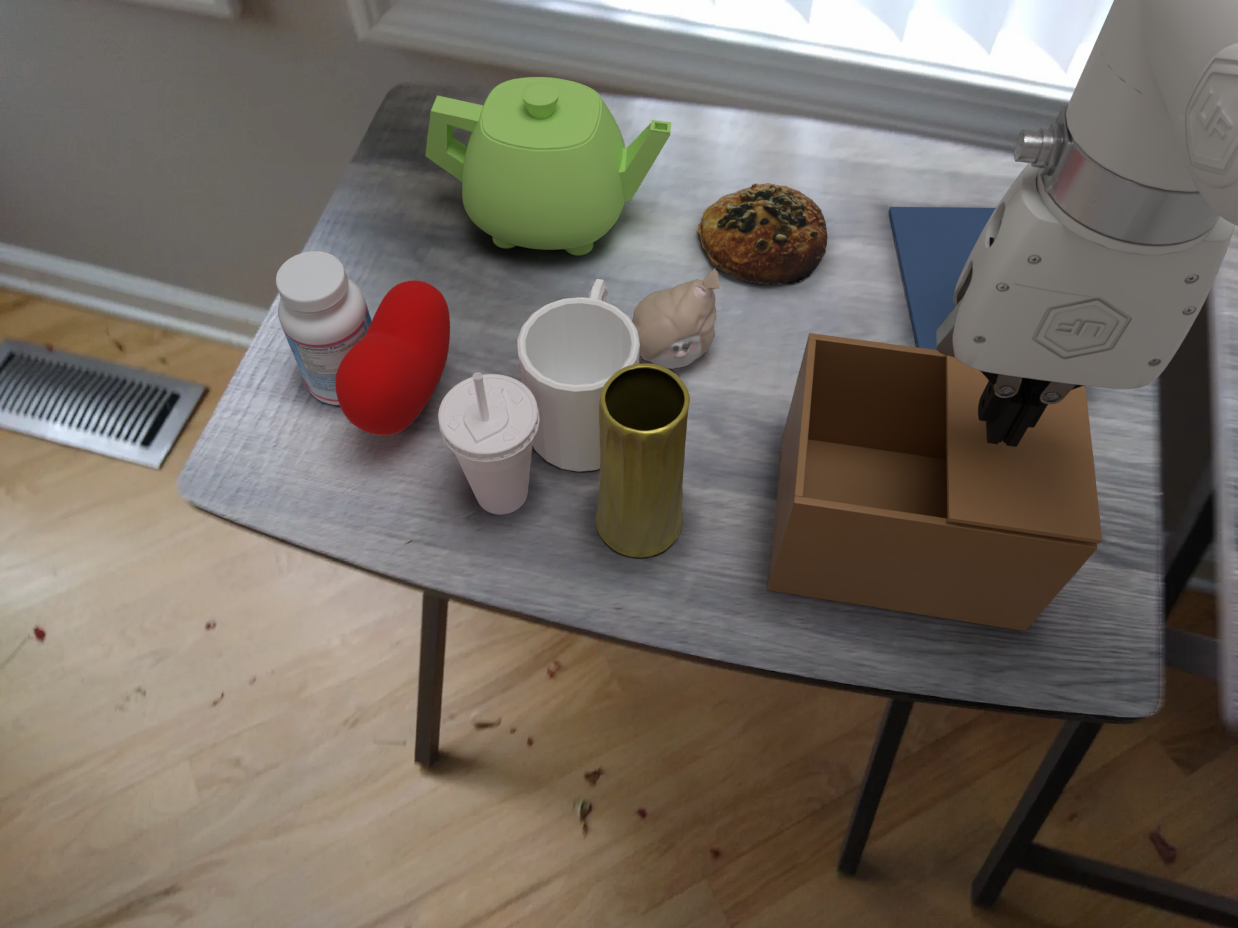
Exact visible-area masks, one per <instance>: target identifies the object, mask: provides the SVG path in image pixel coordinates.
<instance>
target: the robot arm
mask: <svg viewBox="0 0 1238 928" xmlns="http://www.w3.org/2000/svg"><path fill="white" fill-rule="evenodd" d="M1015 142H1016V143H1015V147H1014V151H1013V152H1014V153H1013V160H1014V162H1016V163H1025V164H1026V163H1027V164H1026V166H1024V168H1023V169H1022V170H1021V171H1020V173H1019V174H1018V176H1016V178H1015V180H1014V181H1013V182H1012V184H1011V185H1010V187H1009V188H1008V189H1007V190H1006V192H1005V194H1004V195H1003V196H1002V197H1001V199H1000V201H999V202H998V204H997V205H996V207H995V208H996V209H995V210H994V212H993V214H992V215H991V217H990V219H989V220H988V222H987V224H986V225H985V227H984V229H983V231H982V233H981V234H980V236H979V238H978V240H977V242H976V244H975V246H974V248H973V250H972V252H971V254H970V256H969V258H968V260H967V262H966V264H965V266H964V268H963V270H962V273H961V275H960V277H959V280H958V282H957V285H956V288H955V291H954V296H953V303H954V305H955V308H954V309H953V310H952V311H951V313H950V314H949V315H948V316H947V317H946V319H945V320H944V321H943V322H942V324H941V325H940V326H939V327H938V329H937V331H936V339H937V351H938V352H940V353H942V354H945V355H948V356H951V357H955V358H956V359H957V360H958V361H959V362H961V363H962V364H964V365H966V366H968V367H970V368H973V369H976V370H980V371H981V372H982V373H983V375H984V376H985V377H986V378H987V379H988V380H989V381H988V383H987V385H986V387H985V389H984V391H983V393H982V395H981V397H980V400H979V404H978V419H979V420H980V421H986V431H987V443H991V444H998V443H999V442H1002V441H1003V443H1006V445H1007V446H1013V447H1017V446H1018V444H1019V442H1020V441H1021V439H1022V437H1023V435H1024V434H1025V432H1026V430H1027V429H1028V427H1031V428H1034V427H1035V426H1036V424H1037V422H1038V421H1039V419H1040V417H1041V416H1042V414H1043V412H1044V411H1045V409H1046V407H1047V405H1048V404H1056V403H1059V402H1060V401H1062V400H1063V399H1064V398H1065V396H1066V395H1067V394H1068V393H1069V392H1070V391H1071V390H1073V389H1076V388H1079V387H1082V386H1086V387H1095V388H1103V389H1113V390H1132V389H1139V388H1144V387H1146V386H1149V385H1150V384H1153V382H1154V381H1156V379H1158V378H1159V377H1160V375H1162V373H1163V372H1164V371H1165V370H1166V368H1167V367H1168V366H1169V364H1170V363H1171V361H1172V360H1173V358H1174V357H1175V355H1176V354H1177V352H1178V350H1179V349H1180V347H1181V345H1182V344H1183V342H1184V340H1186V337H1187V335H1188V333H1190V330H1191V328H1192V326H1193V325H1194V323H1195V321H1196V319H1197V318H1198V316H1199V314H1200V313H1201V311H1202V307H1203V306H1204V304H1205V302H1206V300H1207V298H1208V296H1209V294H1210V291H1211V289H1212V287H1213V284H1214V282H1215V281H1216V278H1217V276H1218V274H1219V271H1220V268H1221V266H1222V264H1223V262H1224V260H1225V257H1226V255H1227V252H1228V248H1229V246H1230V243H1231V239H1232V237H1233V233H1234V230H1235V228H1236V227H1238V0H1113V1H1112V4H1111V6H1110V8H1109V10H1108V13H1107V15H1106V17H1105V19H1104V22H1103V24H1102V26H1101V28H1100V31H1099V33H1098V35H1097V37H1096V40H1095V42H1094V45H1093V47H1092V49H1091V51H1090V54H1089V56H1088V58H1087V60H1086V63H1085V65H1084V68H1083V70H1082V72H1081V74H1080V76H1079V78H1078V81H1077V82H1076V85H1075V88H1074V90H1073V92H1072V94H1071V96H1070V99H1069V101H1068V104H1067V106H1066V105H1061V108H1060V110H1059V112H1058V114H1057V117H1056V119H1055V121H1053V122H1052V123H1051V124H1050V126H1048V128H1042V127H1041V128H1039V129H1038V130H1031V129H1021V130H1020V131H1019V134H1018V136H1017V139H1016V141H1015Z"/></svg>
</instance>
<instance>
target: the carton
mask: <svg viewBox="0 0 1238 928" xmlns="http://www.w3.org/2000/svg"><path fill="white" fill-rule="evenodd" d="M800 363H801V364H800V367H799V371H798V375H797V378H796V382H795V387H794V390H793V394H792V398H791V402H790V405H789V409H788V413H787V418H786V421H785V425H784V429H783V432H782V440H781V451H780V461H779V470H778V479H777V489H776V490H777V491H776V499H775V510H774V519H773V530H772V538H771V539H772V540H771V541H772V542H771V549H770V559H769V560H770V561H769V570H768V580H767V591H768V592H777V593H783V594H787V595H788V594H789V595H794V596H801V597H807V598H815V599H819V600H826V601H833V602H840V603H846V604H853V605H858V606H864V607H869V608H870V607H871V608H875V609H876V608H878V609H884V610H890V611H896V612H902V613H909V614H914V615H915V614H916V615H921V616H927V617H932V618H933V617H934V618H940V619H946V620H953V621H959V622H965V623H972V624H978V625H983V626H990V627H998V628H1003V629H1009V630H1015V631H1022V632H1026V631H1028V629H1029V628H1030V627H1031V625H1033V623H1034V622H1035V621H1036V620H1037V619H1038V617H1039V616H1040V615H1041V614H1042V613H1043V612H1044V610H1045V609H1046V608H1047V607H1048V606H1049V605H1050V603H1052V601H1054V599H1055V598H1056V597H1057V596H1058V594H1059V593H1060V592H1061V591H1062V590H1063V589H1064V588H1065V587H1066V585H1067V584H1068V583H1069V582H1070V581H1071V579H1072V578H1073V577H1074V576H1075V575H1076V574H1077V572H1078V571H1079V570H1080V569H1081V568H1082V567H1083V566H1084V565H1085V563H1087V561H1088V560H1089V559H1090V558H1091V557H1092V556H1093V554H1094V553H1095V552H1096V551H1097V550H1098V549H1099V548H1098V543H1092V542H1086V541H1079V540H1072V539H1065V538H1059V537H1052V536H1045V535H1038V534H1031V533H1025V532H1018V531H1011V530H1004V529H997V528H991V527H984V526H977V525H970V524H964V523H957V522H950V521H948V520H947V431H946V355H945V354H942V353H940V352H938V351H937V350H932V349H925V348H918V347H916V346H911V345H910V346H909V345H903V344H894V343H887V342H881V341H874V340H873V341H872V340H864V339H859V338H858V339H857V338H850V337H844V336H834V335H828V334H827V335H826V334H821V333H814V332H813V333H812V332H809V333H808V336H807V338H806V343H805V347H804V350H803V355H802V359H801V362H800Z"/></svg>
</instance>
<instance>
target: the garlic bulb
mask: <svg viewBox="0 0 1238 928" xmlns="http://www.w3.org/2000/svg"><path fill="white" fill-rule="evenodd" d="M717 289H720V281H719V272H718V270H716V268H713V269H712V270H711V271H709V273H707V275H706V276H705V277H704V278H703V279H700V278H699V279H693V280H690V281H685V282H683V283H679V284H676V285H675V286H674V287H670V288H664V289H660V290H656V291H653V292H651V293H649V294H647V295H646V296H645V297H643V299H642V300H641V301H639V303H638V304H637V305H636V306H635V308H634V310H633V315H632V319H631V321H632V322H633V324H634V326H635V327H636V329H637V331H638V337H639V343H640V355H639V356H640V357H641V358H642V359H643V360H645V361H646V362H647V361H648V362H649V363H651V364H655V365H659V366H663V367H665V368H667V369H679V368H683V367H686V366H688V365H690V364H692V363H693V362H695V361H696V359H698V358H700V357H701V356H703V355H705V353H706V352H707V351H708V349H709V348H710V347H711V345H712V343H713V340H714V338H715V335H716V330H715V323H716V320H717V307H716V294H715V291H714V290H717Z"/></svg>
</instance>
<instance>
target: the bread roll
mask: <svg viewBox="0 0 1238 928" xmlns="http://www.w3.org/2000/svg"><path fill="white" fill-rule="evenodd" d="M697 233H698V235H699V238H700V240H701V241H700V243H701V247H702V250H704V252H705V253H706V255H707V257H708V258H709V260H710V261H711V262H712V263H713V264H714V265H715V266H716V267H717V268H718V269H719V270H720V271H722V272H723V273H726V274H727V275H729V276H731V277H733V278H734V279H737V280H743V281H746V282H751V283H755V284H763V285H767V284H768V285H786V286H787V285H795V284H796V283H797V284H799V283H801V282H803V281H804V280H806V278H809V277H810V276H811V275H812V274H813V272H815V270H816V269H817V267H818V266H819V265H820V263H821V262H822V260H823V258H824V256H825V254H826V252H827V246H828V229H827V222H826V219H825V216H824V213H823V211H822V209H821V207H819V205H818V204H817V203H816V202H815V201H814V200H813V199H812V198H810V197H809V196H807V195H806V194H805V193H802V192H801V190H797V189H794V188H791V187H789V186H787V185H778V184H776V183H770V182H765V183H753V184H751V186H748V187H747V188H746V187H745V188H743V189H740V190H737V191H735V192H732V193H727V194H725V195H722V196H721V197H720V198H719V199H718V200H716V201H715V202H714V203H712V204H710V205H709V206H708V207H706V208H705V209H704V211H703V212H702V217H701V219H700V223H699V224H697Z"/></svg>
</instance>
